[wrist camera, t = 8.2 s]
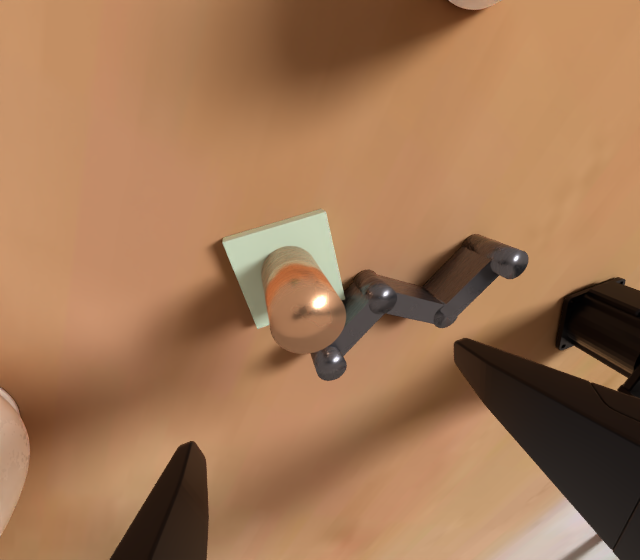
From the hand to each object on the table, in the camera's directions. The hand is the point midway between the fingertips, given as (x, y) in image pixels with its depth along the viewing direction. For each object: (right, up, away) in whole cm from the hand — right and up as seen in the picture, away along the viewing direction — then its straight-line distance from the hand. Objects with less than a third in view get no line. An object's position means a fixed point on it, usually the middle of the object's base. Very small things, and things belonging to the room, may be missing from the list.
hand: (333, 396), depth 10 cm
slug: (-2, +4, +9) cm, 11 cm away
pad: (-3, +5, +10) cm, 12 cm away
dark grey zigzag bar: (+5, +3, +13) cm, 15 cm away
